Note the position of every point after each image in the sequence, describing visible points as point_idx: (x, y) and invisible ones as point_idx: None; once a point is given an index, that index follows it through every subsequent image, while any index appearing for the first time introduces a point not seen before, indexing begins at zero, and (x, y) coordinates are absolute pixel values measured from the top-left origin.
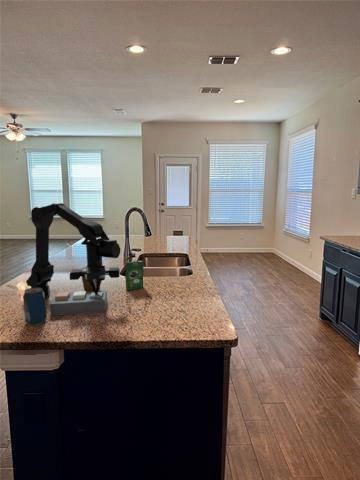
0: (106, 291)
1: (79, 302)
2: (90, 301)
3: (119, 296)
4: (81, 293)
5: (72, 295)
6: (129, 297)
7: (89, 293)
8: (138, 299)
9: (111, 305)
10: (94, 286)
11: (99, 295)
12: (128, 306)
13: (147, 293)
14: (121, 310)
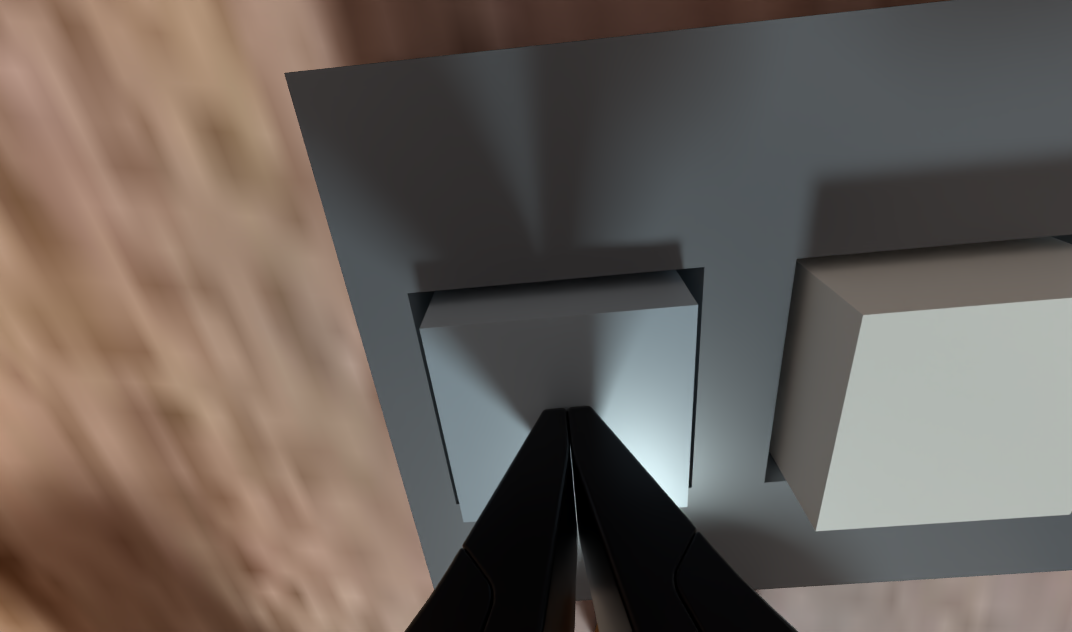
0: (432, 579)
1: (963, 2)
2: (660, 50)
3: (347, 572)
4: (933, 413)
5: None
6: (212, 543)
7: (721, 516)
8: (65, 486)
9: (355, 327)
10: (626, 560)
11: (479, 346)
12: (78, 275)
13: (51, 621)
14: (110, 117)
